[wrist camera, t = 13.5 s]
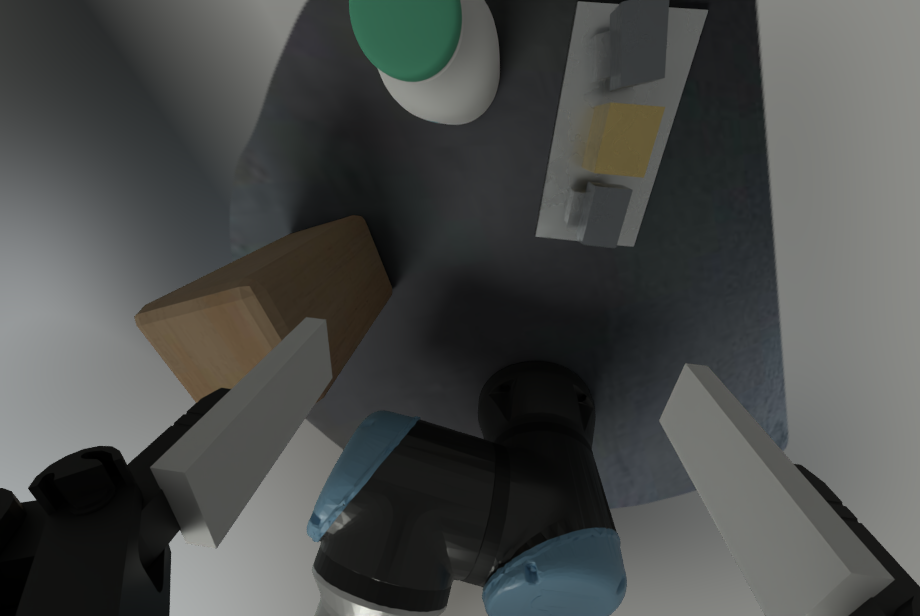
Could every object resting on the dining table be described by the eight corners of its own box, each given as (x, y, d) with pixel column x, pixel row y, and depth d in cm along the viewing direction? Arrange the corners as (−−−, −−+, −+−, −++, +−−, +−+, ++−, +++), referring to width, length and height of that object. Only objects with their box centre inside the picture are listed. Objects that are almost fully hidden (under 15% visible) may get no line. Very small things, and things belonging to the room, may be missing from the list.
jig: (630, 243, 37) (652, 263, 31) (534, 233, 37) (540, 251, 32) (701, 13, 28) (748, -14, 23) (575, 5, 29) (592, -24, 23)
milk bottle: (491, 10, 29) (476, -171, 12) (506, 113, 33) (513, 94, 15) (404, 38, 31) (274, -86, 13) (427, 134, 34) (347, 138, 16)
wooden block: (325, 309, 44) (208, 428, 27) (287, 233, 40) (118, 315, 23) (397, 292, 42) (322, 409, 24) (364, 210, 38) (246, 280, 20)
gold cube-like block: (624, 171, 33) (644, 177, 28) (581, 167, 33) (594, 172, 29) (641, 110, 31) (665, 106, 26) (594, 106, 31) (610, 102, 26)
